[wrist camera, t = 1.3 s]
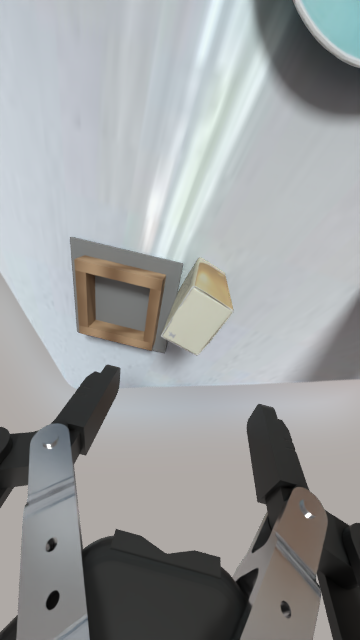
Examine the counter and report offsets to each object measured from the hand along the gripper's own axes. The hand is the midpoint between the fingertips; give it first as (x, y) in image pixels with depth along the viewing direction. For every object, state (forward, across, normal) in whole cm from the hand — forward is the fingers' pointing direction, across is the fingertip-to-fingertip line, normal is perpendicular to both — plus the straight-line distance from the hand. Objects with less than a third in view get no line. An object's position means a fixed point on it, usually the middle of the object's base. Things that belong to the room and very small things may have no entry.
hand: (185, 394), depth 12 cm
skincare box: (+20, 0, 0) cm, 20 cm away
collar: (+20, +11, +6) cm, 24 cm away
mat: (+20, +11, +6) cm, 24 cm away
